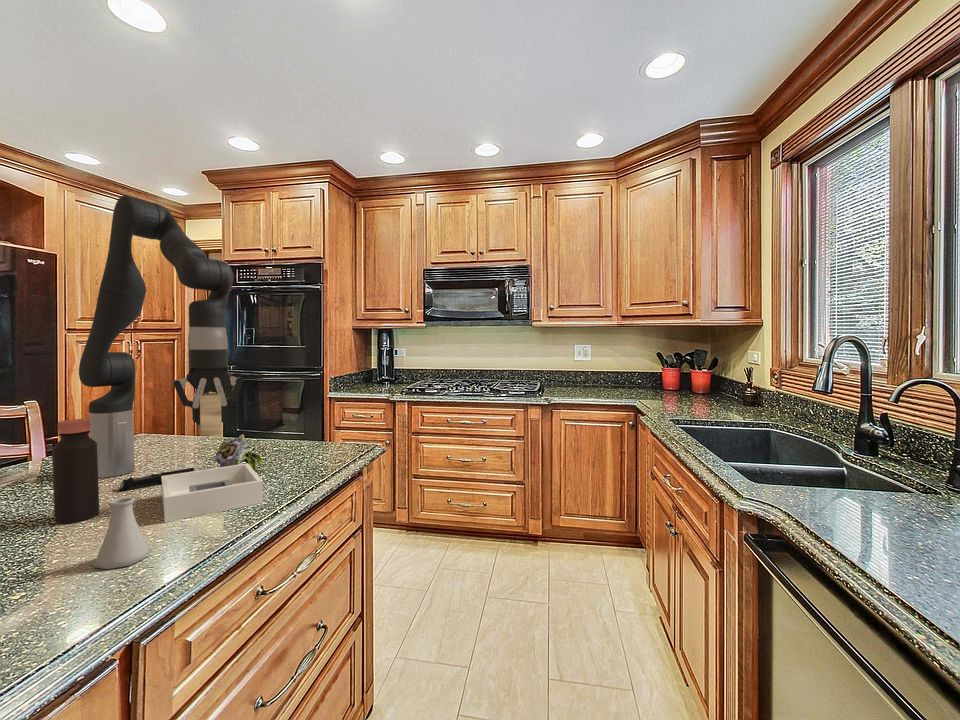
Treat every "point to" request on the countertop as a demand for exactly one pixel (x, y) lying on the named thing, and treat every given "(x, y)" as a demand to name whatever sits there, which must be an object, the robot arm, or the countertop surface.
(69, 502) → the bottle
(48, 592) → the countertop surface
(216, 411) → the plug
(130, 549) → the flask
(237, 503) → the box
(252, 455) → the passion flower
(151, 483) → the electric trimmer
